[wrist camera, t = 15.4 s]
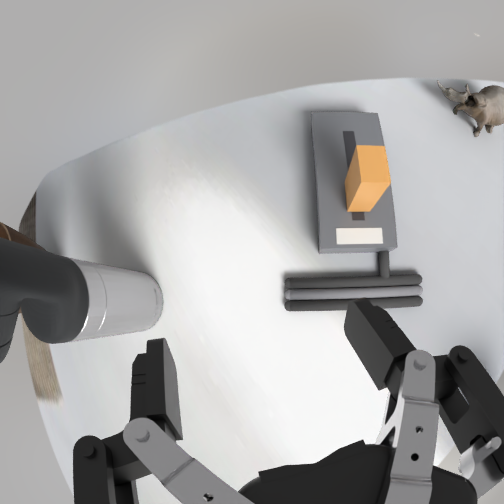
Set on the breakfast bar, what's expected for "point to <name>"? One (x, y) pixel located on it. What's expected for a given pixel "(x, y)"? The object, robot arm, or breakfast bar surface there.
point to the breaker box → (333, 185)
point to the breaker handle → (366, 178)
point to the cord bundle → (354, 290)
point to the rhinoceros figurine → (479, 105)
